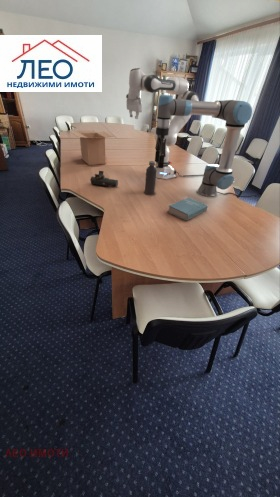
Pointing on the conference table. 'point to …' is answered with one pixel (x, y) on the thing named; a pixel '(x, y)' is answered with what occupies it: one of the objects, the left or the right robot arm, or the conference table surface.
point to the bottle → (150, 180)
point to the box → (92, 146)
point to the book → (187, 208)
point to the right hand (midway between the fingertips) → (158, 164)
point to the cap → (152, 163)
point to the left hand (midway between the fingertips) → (133, 118)
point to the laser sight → (103, 180)
